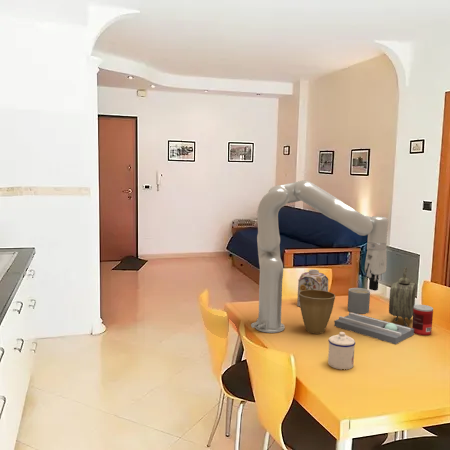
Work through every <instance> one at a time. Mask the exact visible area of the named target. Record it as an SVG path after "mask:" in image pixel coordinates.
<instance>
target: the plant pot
mask: <svg viewBox="0 0 450 450" xmlns="http://www.w3.org/2000/svg"><path fill="white" fill-rule="evenodd" d="M335 299H336V294H335V293H333V292H330V291H329V290H328V291H322V290H303V291H300V292H299V300H300V306H299V307H300V311H301V312H300V313H301V318H302V321H303V324H304V328H305V331H306V332H308V333H309V334H310V333H311V334H317V335H318V334H319V335H320V334H324V332H325V331H326V328H327V326H328V323H329V321H330V318H331V315H332V312H333V308H334V304H335Z"/></svg>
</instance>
